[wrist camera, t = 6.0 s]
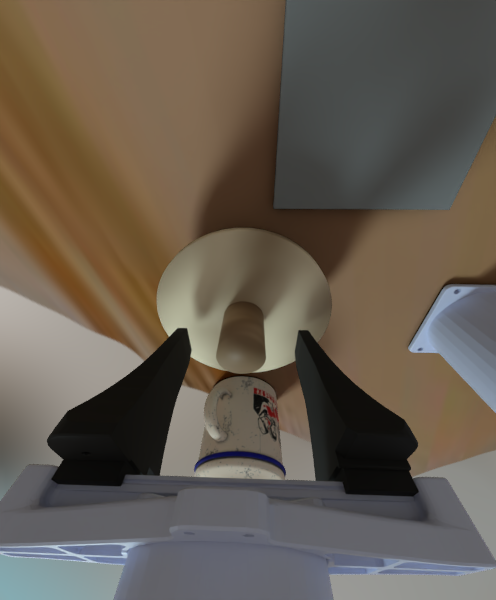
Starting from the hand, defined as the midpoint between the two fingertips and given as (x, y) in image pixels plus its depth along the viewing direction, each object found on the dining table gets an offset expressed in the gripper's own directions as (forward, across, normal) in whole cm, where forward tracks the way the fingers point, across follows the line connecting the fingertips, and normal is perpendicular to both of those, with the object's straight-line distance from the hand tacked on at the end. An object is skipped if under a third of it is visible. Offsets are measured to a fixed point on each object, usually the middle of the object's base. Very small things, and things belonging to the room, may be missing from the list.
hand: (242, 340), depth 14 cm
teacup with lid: (+7, +1, +15) cm, 16 cm away
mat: (+6, -8, -13) cm, 17 cm away
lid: (+2, 0, -1) cm, 2 cm away
